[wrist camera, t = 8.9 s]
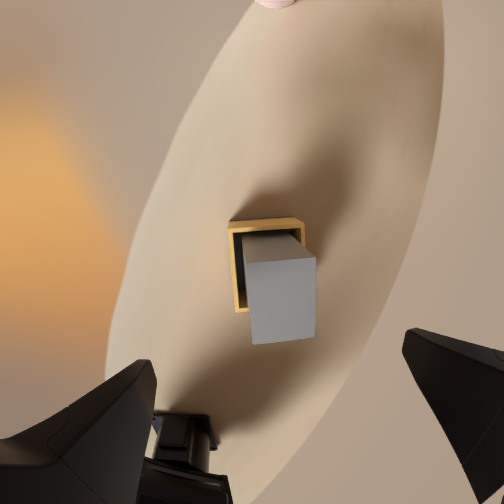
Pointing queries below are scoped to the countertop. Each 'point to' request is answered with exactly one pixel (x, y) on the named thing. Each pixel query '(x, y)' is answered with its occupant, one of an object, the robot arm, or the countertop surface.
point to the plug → (279, 286)
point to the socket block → (236, 253)
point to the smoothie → (275, 3)
